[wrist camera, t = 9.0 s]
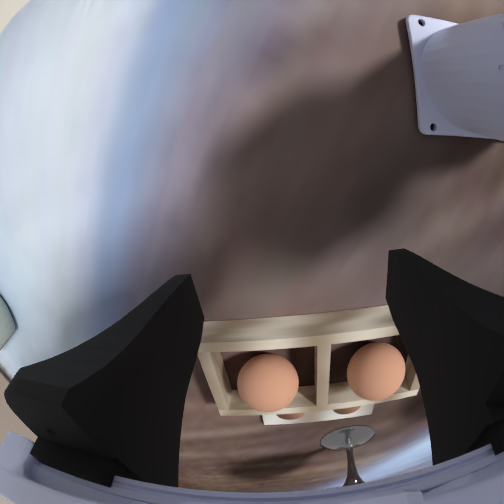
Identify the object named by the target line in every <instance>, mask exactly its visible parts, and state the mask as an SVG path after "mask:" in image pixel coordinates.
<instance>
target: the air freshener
mask: <svg viewBox="0 0 504 504" xmlns="http://www.w3.org/2000/svg"><path fill="white" fill-rule="evenodd" d="M15 330H16V329H15V325H14V321H13V318H12V316H11V313H10V311H9V309H8V307H7V305H6V304H5V302H4V300H3V299H2V298H1V296H0V350H1V349H2V347H3V346H4V345H5V343H6V342H7V341H8V339H9V338H10V337H11V335H12V334H13V333H14V331H15Z"/></svg>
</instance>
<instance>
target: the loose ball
mask: <svg viewBox="0 0 504 504" xmlns="http://www.w3.org/2000/svg"><path fill="white" fill-rule="evenodd" d="M298 386H299V380H298V375H297V372H296V370H295V368H294V366H293V365H292V364H291V363H290V362H289V361H288V360H287V359H285V358H284V357H282V356H279V355H276V354H261V355H257V356H255V357H253V358H251V359H250V360H248V361H247V362H246V363H245V364H244V365H243V367H242V368H241V370H240V372H239V375H238V379H237V387H238V392H239V394H240V396H241V398H242V400H243V401H244V402H245V403H246V404H247V405H248V406H249V407H251V408H252V409H254V410H257V411H260V412H275V411H279V410H281V409H283V408H285V407H286V406H287V405H289V404H290V403H291V402H292V400H293V399H294V398H295V396H296V394H297V391H298Z"/></svg>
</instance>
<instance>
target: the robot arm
mask: <svg viewBox="0 0 504 504" xmlns="http://www.w3.org/2000/svg"><path fill="white" fill-rule="evenodd" d="M418 20H419V21H421V22H422V24H423V26H421V25H419V23H418ZM406 26H407V31H408V37H409V43H410V49H411V56H412V63H413V71H414V80H415V90H416V102H417V117H418V129H419V131H420V132H421V133H423V134H426V135H448V136H465V137H478V138H489V139H497V140H500V141H504V13H501V14H496V15H492V16H488V17H484V18H480V19H476V20H472V21H468V22H465V23H461V24H457V23H453V22H449V21H444V20H439V19H434V18H429V17H424V16H418V15H409V16H408V17H406ZM432 123H433V125H434V129H433V130H431V129H430V125H431V124H432ZM386 300H387V303H388V307H389V310H390V313H391V316H392V319H393V322H394V324H395V326H396V328H397V330H398V332H399V335H400V337H401V339H402V341H403V343H404V346H405V348H406V350H407V352H408V355H409V357H410V359H411V361H412V364H413V366H414V369H415V372H416V375H417V378H418V382H419V385H420V389H421V393H422V397H423V401H424V406H425V410H426V415H427V421H428V427H429V433H430V440H431V449H432V461H433V466H430V467H427V468H424V469H420V470H417V471H413V472H410V473H406V474H402V475H398V476H394V477H390V478H386V479H381V480H377V481H372V482H367V483H361V484H355V485H349V486H343V487H336V488H328V489H319V490H309V491H296V492H275V493H239V492H218V491H205V490H194V489H185V488H178V465H179V448H180V436H181V426H182V418H183V411H184V404H185V398H186V393H187V389H188V385H189V382H190V378H191V375H192V371H193V368H194V364H195V361H196V357H197V354H198V350H199V347H200V343H201V338H202V332H203V324H204V315H203V312H202V309H201V306H200V303H199V300H198V297H197V293H196V290H195V287H194V284H193V280H192V277H191V274H186V275H176V276H174V277H172V278H171V279H170V280H168V281H167V282H166V283H165V284H163V285H162V286H161V287H160V288H159V289H157V290H156V291H155V292H154V293H153V294H151V295H150V296H149V297H148V298H147V299H146V300H144V301H143V302H142V303H141V304H140V305H138V306H137V307H136V308H135V309H133V310H132V311H131V312H129V313H128V314H127V315H126V316H124V317H123V318H122V319H121V320H119V321H118V322H116V323H115V324H114V325H112V326H111V327H109V328H108V329H106V330H105V331H103V332H101V333H100V334H98V335H97V336H95V337H93V338H91V339H89V340H88V341H86V342H84V343H82V344H80V345H79V346H77V347H75V348H73V349H71V350H68V351H66V352H64V353H62V354H60V355H57V356H55V357H52V358H50V359H47V360H44V361H41V362H38V363H35V364H32V365H29V366H26V367H22V368H20V369H19V370H18V372H17V373H16V375H15V376H14V378H13V379H12V381H11V382H10V384H9V385H8V387H7V389H6V390H5V393H4V396H5V399H6V402H7V404H8V405H9V407H10V408H11V409H12V411H13V412H14V413H15V414H16V415H17V416H18V417H19V418H20V419H21V420H22V421H23V423H24V424H25V425H26V426H27V427H28V428H29V429H30V430H31V431H32V432H33V433H34V434H36V435H37V436H38V438H37V440H36V442H35V443H34V442H32V441H31V440H29V439H28V438H25V437H23V436H21V435H19V434H17V433H14V432H12V431H8V432H7V434H6V436H5V438H4V440H3V442H2V444H1V446H0V494H1V495H3V496H4V497H6V498H7V499H9V500H10V501H12V502H13V503H15V504H504V297H502V296H499V295H497V294H494V293H491V292H489V291H486V290H484V289H481V288H479V287H477V286H474V285H472V284H470V283H468V282H466V281H464V280H462V279H460V278H458V277H456V276H454V275H452V274H450V273H449V272H447V271H445V270H443V269H441V268H440V267H438V266H436V265H434V264H433V263H431V262H429V261H427V260H425V259H424V258H422V257H420V256H418V255H417V254H415V253H413V252H411V251H409V250H406V249H397V250H389V256H388V273H387V287H386Z"/></svg>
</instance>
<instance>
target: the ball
mask: <svg viewBox="0 0 504 504" xmlns="http://www.w3.org/2000/svg"><path fill="white" fill-rule="evenodd" d="M404 376H405V362H404V359H403V357H402V355H401V353H400V352H399V351H398V350H397V349H396V348H395V347H393V346H392V345H390V344H387V343H384V342H374V343H369V344H367V345H365V346H363V347H361V348H360V349H359V350H357V351H356V352H355V353H354V355H353V356H352V358H351V359H350V362H349V364H348V368H347V380H348V383H349V386H350V388H351V389H352V391H353V392H354V393H355V394H356V395H357V396H359V397H361V398H363V399H365V400H370V401H378V400H383V399H385V398H388V397H389V396H391V395H392V394H394V393H395V392H396V391H397V390H398V389H399V387H400V386H401V384H402V382H403V380H404Z"/></svg>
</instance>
